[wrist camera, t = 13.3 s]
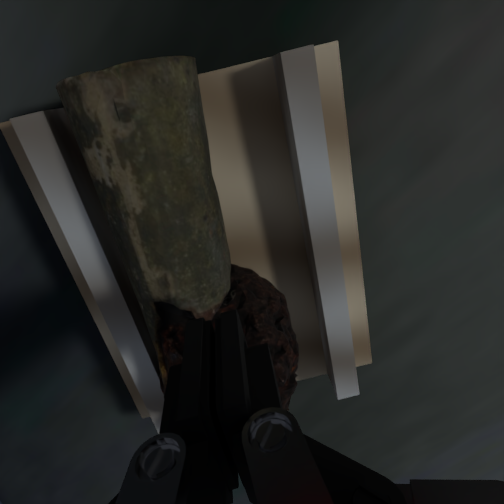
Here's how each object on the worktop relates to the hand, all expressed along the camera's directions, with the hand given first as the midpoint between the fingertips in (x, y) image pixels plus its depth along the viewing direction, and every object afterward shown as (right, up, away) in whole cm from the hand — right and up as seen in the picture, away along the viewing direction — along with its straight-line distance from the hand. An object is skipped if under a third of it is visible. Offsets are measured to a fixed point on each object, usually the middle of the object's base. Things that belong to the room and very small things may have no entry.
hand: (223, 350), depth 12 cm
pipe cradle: (-1, +3, +7) cm, 8 cm away
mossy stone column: (-1, +3, +6) cm, 7 cm away
